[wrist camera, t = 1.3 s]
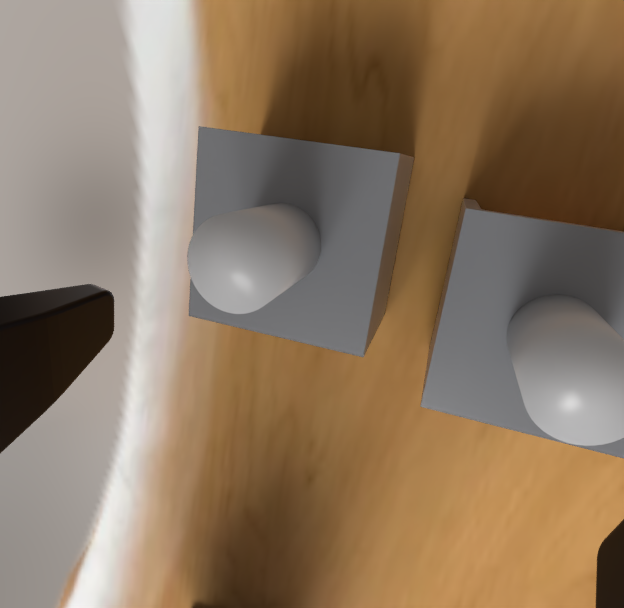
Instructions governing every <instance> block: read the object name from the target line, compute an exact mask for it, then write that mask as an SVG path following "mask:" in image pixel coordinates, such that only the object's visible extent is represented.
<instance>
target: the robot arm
mask: <svg viewBox="0 0 624 608" xmlns="http://www.w3.org/2000/svg"><path fill="white" fill-rule="evenodd" d="M113 331H114V297H113V295H112V293H111V292H110V291H108V290H106V289H103V288H101V287H98V286H96V285H92V284H87V285H80V286H73V287H66V288H59V289H52V290H45V291H38V292H32V293H25V294H17V295H10V296H4V297H0V453H1V452H2V451H3V450H4V449H5V448H7V447H8V446H9V445H10V444H11V443H12V442H13V441H14V440H15V439H16V438H17V437H18V436H19V435H20V434H22V433H23V432H24V431H25V430H26V429H27V428H28V427H29V426H30V425H31V424H32V423H33V422H34V421H36V420H37V419H38V418H39V417H40V416H41V415H42V414H43V413H44V412H45V411H46V410H47V409H48V408H49V407H50V406H51V405H52V404H53V403H54V402H55V401H56V400H57V399H58V398H59V397H60V396H61V395H62V394H63V393H64V392H65V391H66V389H67V388H68V387H69V386H70V385H71V384H72V382H73V381H74V380H75V379H76V378H77V377H78V376H79V375H80V374H81V372H82V371H83V370H84V369H85V368H86V367H87V365H88V364H89V363H90V362H91V361H92V360H93V359H94V358H95V356H96V355H97V354H98V353H99V352H100V351H101V350H102V348H103V347H104V346H105V345H106V344H107V343H108V342H109V340H110V339H111V337H112V334H113ZM596 608H624V519H623V521H622V522H621V523H620V524H619V525H618V526H617V527H616V528H615V529H614V530H613V531H612V532H611V533H610V534H609V535H608V536H607V537H606V539H605V540H604V541H603V542H602V544H601V546H600V548H599V551H598V555H597V580H596Z"/></svg>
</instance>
